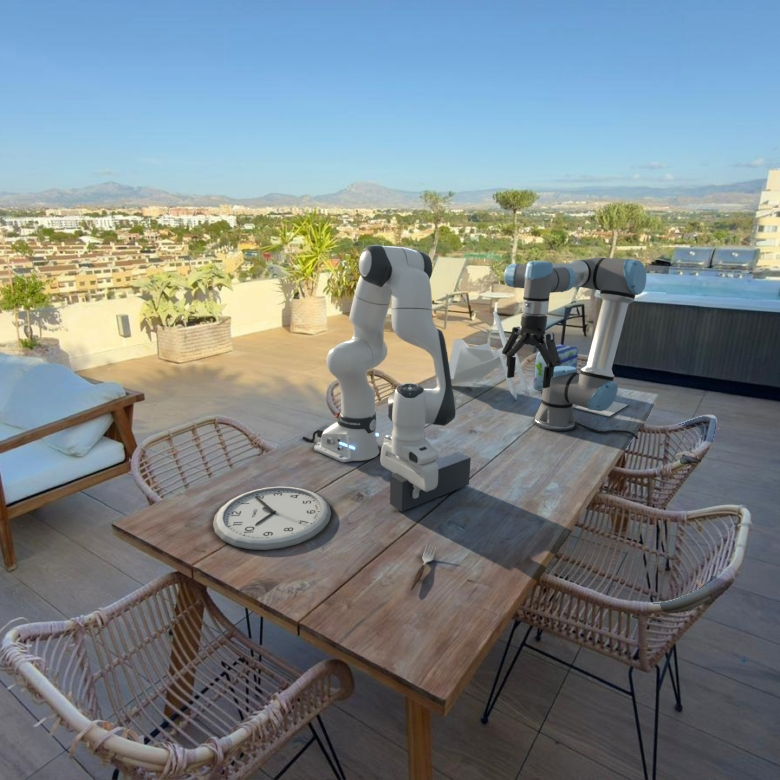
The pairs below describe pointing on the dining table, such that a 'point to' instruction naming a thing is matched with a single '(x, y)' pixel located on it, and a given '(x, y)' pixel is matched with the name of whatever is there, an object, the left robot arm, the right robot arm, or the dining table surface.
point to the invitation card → (609, 411)
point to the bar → (449, 479)
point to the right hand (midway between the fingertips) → (527, 382)
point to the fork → (426, 559)
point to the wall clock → (272, 518)
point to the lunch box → (566, 358)
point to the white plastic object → (482, 362)
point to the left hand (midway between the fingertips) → (406, 492)
